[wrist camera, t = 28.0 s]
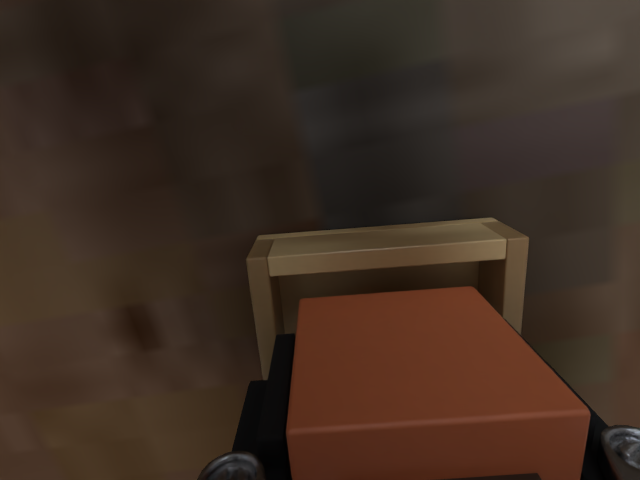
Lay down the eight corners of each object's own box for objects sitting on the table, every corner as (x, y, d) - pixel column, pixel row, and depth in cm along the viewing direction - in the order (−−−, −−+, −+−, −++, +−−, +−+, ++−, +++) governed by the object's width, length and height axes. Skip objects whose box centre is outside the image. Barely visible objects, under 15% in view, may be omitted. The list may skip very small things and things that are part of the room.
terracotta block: (313, 436, 12) (310, 641, 8) (299, 297, 11) (284, 439, 6) (467, 425, 12) (565, 626, 7) (473, 284, 11) (601, 417, 6)
